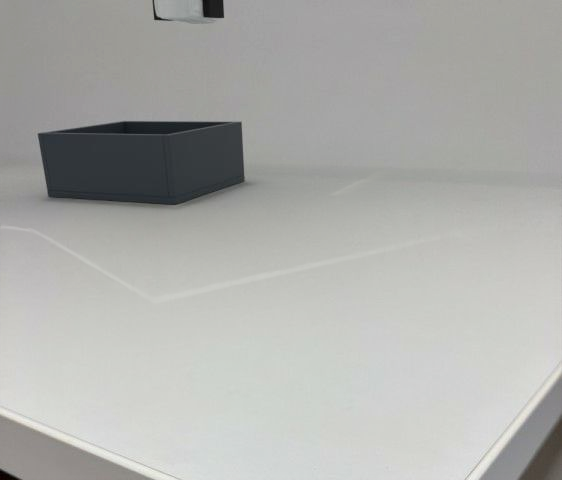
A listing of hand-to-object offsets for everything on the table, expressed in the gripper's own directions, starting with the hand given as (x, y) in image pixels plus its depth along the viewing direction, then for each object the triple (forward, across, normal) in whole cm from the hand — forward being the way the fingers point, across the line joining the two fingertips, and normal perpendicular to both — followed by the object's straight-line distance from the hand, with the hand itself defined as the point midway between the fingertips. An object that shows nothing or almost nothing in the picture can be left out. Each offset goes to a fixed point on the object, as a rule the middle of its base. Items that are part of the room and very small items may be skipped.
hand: (189, 18), depth 68 cm
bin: (+19, +15, -12) cm, 27 cm away
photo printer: (0, 0, 0) cm, 0 cm away
